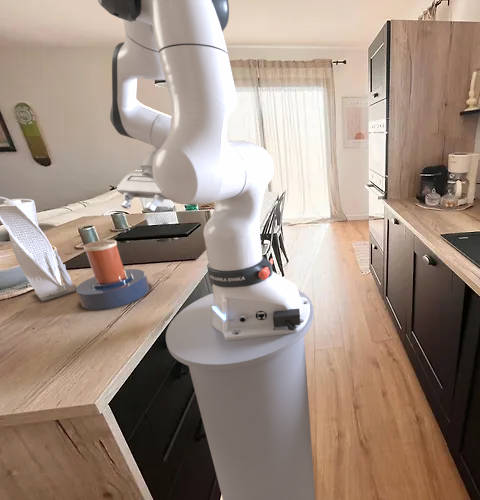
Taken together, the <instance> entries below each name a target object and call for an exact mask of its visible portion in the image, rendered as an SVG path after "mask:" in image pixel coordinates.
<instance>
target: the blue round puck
mask: <svg viewBox="0 0 480 500" xmlns="http://www.w3.org/2000/svg"><path fill="white" fill-rule="evenodd" d="M124 270H125V273H126V276H125V277H124V278H123V279H121V280H118V281H115V282H111V283H105V284H100V283H97V282H96V279H95V276H92V277H90V278H88V279H86V280H84V281H82V282H80V283H79V284H78V285H77V286H76V288H75V289H76V291H75V293H76V294H77V298H78V299H79V302H80V305H81V307H82V308H83V309H85V310H89V311H90V310H91V311H100V310H101V311H102V310H109V309H110V310H111V309H114V308H119V307H121V306H125V305H128V304H130V303H133V302H135V301H137V300H139V299H140V298H142V297H144V296H145V295H146V294H147V293H148V292H149V290H150V285H149V282H148V278H147V273H146V272H145V271H144V270H142V269H138V268H127V269H125V268H124Z"/></svg>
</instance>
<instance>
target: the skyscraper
mask: <svg viewBox="0 0 480 500" xmlns="http://www.w3.org/2000/svg"><path fill="white" fill-rule="evenodd" d="M0 200H3V203H2V204H0V222H1V224H2V225H3V227H4V229H6V231H7V232H8V236H9V241H10V245H11V249H12V251H13V254H14V257H15V259H16V262H17V263H18V265H19V267H20V269H21V271H22V273H23V275H24V277H25V278H26V280H27V281H28V283H29V284H30V285H31V287H32V288H33V290H34V294H35V296H36V297H37V298H38V299H40V300H41V301H42V302H43V303H44V302H48V301H50V300H54V299H57V298H60V297H63V296H66V295H69V294H72V293H76V288H75V286H74V284H73V282H72V278H71V277H70V274H69V273H68V271H67V268H66V264H65V263H63V261H62V259H61V256H60V255H59V254H58V252H57V250H56V249H54V248H53V246H52V244H51V243H50V240H49V239H48V237H47V235H46V234H45V233H44V232H43V230H42V229H41V227H40V226H39V219H38V214H37V207H36V203H35V200H33V199H31V198H11V199H10V198H7V197H4V196H0ZM61 279H62V280H61ZM62 282H63V284H62Z"/></svg>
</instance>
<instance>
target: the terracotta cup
mask: <svg viewBox="0 0 480 500" xmlns="http://www.w3.org/2000/svg"><path fill="white" fill-rule="evenodd" d="M82 248H83V250H84V251H85V254H86V257H87V260H88V263H89V265H90V268H91V271H92V273H93V277H95V279H96V282H97V283H100V284H105V283H111V282H115V281H118V280H121V279H123V278H124V277H125V276H126V273H125V267H124V263H123V260H122V257H121V254H120V251H119V247H118V241H117V240H115V239H100V240H96V241H91V242H89V243H86V244H84V245H83V246H82Z"/></svg>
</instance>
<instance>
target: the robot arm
mask: <svg viewBox="0 0 480 500" xmlns="http://www.w3.org/2000/svg"><path fill="white" fill-rule="evenodd" d="M97 2H98V4H99V5H100V6H101V7H102V9H104V10H105V11H107V12H108V14H110V15H111V16H114V17H116V18H118V19H121V20H123V26H124V32H125V39H124V42H123V41H122V42H119V43H118V44H117V45H116V46H115V47H114V50H113V53H112V58H111V98H112V99H111V107H110V111H109V112H110V114H109V119H110V122H111V125H112V126H113V127H114V129H115V131H116V132H117V133H118V134H120V135H121V136H124V137H127V138H130V139H133V140H136V141H137V140H138V141H140V142H142V143H144V144H148V145H149V146H152V149H151V150H150V151H149V152H147V154H146V155H145V158H144V159H143V161H142V163H141V164H140V167H139V168H138V169H137V168H136V169H134V170H132V171H129V172H127V173H126V174H125V175H124V176H123V177H122V179H121V180H120V181H119V183H118V184H117V186H116V191H117V192H118V193H119V194H120V195H122V202H121V203H120V207H122V208H123V209H127V210H128V209H129V210H130V209H131V207H132V206H133V203H131V202H132V200H134V198H142V199H152V200H151V201H150V202H147V204H146V205H145V210H148V211H149V212H150V211H152V212H155V211H156V209H157V207H159V206H160V205H161V204H163V203H164V201H165V200H167V201H168V200H169V201H171V202H173V203H175V204H179V205H208V204H212V203H214V204H215V205H214V208H213V212H212V214H211V216H210V218H209V219H208V220H207V222H206V223H205V225H204V227H203V230H202V232H203V233H202V234H203V236H202V237H203V240H204V245H205V251H206V256H207V262H208V263H207V265H206V267H207V274H208V275H207V276H208V279H209V283H210V286H211V287H212V293H213V300H214V306H213V318H212V325H213V327H214V328H215V329H216V330H218V331H220V332H221V333H222V334H223V336H224V338H225V340H227V341H233V340H241V339H249V338H258V337H266V336H275V335H283V334H291V333H296V332H298V331H300V330H301V329H302V328H303V327H304V326H305V324H306V323H307V321H308V318H309V315H310V304H309V301H308V300H307V299H306V298H305V297H300V296H299V292H298V290H299V289H298V287H297V284H295V283H294V282H292V281H291V280H288V279H287V278H285V277H283V276H281V275H280V274H278V273H276V272H275V271H273V270H274V269H273V264H274V262H273V261H274V260H273V258H270V260H268V259H267V258H265V257H264V255H263V251H262V242H261V241H262V240H261V230H260V229H261V228H260V226H261V225H260V223H261V213H262V212H261V211H262V207H263V202H264V196H265V192H266V191H267V187H268V185H269V184H270V182H271V181H272V179H273V177H274V173H275V165H274V161H273V158H272V156H271V154H270V153H269V152H268V150H267V149H265V148H264V147H263V146H261V145H259V144H256V143H253V142H250V141H246V140H228V122H229V117H230V115H231V114H232V113H234V112H235V110H236V108H237V107H238V96H237V91H236V85H235V81H234V76H233V71H232V66H231V62H230V56H229V51H228V48H227V43H226V39H225V35H224V33H223V32H224V30H225V29H226V28H227V26H228V23H229V18H230V4H229V0H97ZM138 79H141V80H142V79H143V80H144V79H145V80H150V81H151V80H152V81H165V85H166V88H167V93H168V97H169V102H170V111H171V112H170V115H168V114H165V113H163V112H160V111H158V110H155V109H153V108H151V107H148V106H146V105H144V104H143V103H141V102H140V101H139V100H138V99H137V89H138Z"/></svg>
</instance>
